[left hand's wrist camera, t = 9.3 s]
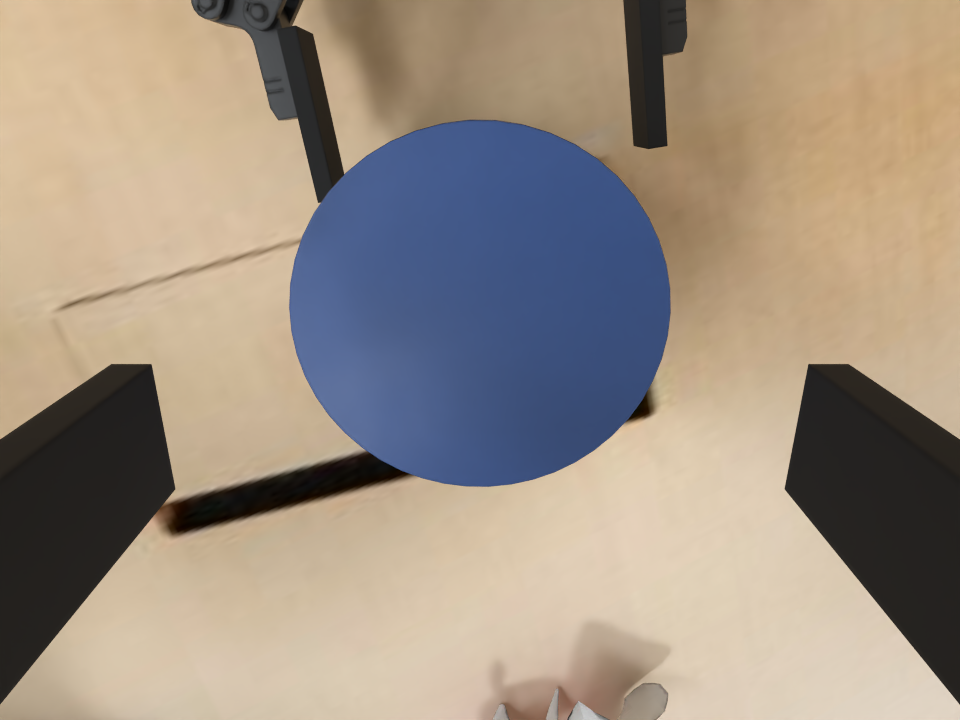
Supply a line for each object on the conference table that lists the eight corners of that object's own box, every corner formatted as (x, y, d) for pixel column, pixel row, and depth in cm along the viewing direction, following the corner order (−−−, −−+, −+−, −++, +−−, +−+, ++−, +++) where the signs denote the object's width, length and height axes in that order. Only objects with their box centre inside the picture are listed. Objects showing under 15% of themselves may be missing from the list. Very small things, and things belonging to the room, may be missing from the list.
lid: (231, 286, 21) (208, 301, 19) (502, 31, 18) (504, 22, 16) (462, 515, 24) (461, 546, 22) (723, 324, 21) (745, 342, 19)
